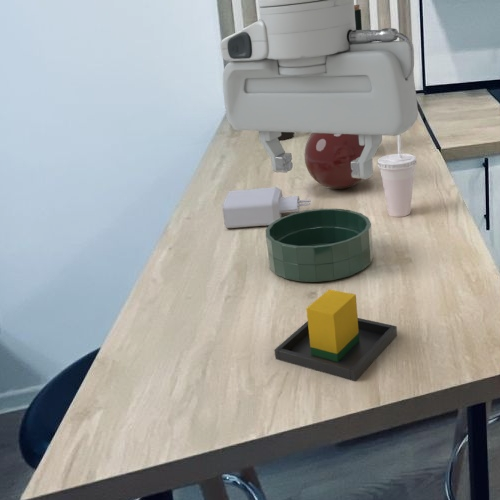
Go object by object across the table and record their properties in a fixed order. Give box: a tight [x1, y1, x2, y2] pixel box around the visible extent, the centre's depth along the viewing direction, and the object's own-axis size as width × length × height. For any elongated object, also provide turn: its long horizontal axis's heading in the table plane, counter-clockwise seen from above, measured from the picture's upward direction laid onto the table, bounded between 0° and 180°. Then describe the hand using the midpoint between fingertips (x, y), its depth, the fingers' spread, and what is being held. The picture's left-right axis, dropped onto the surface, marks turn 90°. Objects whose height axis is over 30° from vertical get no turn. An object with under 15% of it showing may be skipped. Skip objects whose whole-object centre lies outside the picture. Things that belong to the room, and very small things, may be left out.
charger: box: [222, 186, 311, 229], centre depth 118 cm, size 5×9×15 cm
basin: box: [265, 208, 374, 283], centre depth 97 cm, size 15×15×6 cm
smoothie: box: [377, 134, 418, 218], centre depth 110 cm, size 6×6×14 cm
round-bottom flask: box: [303, 133, 365, 190], centre depth 126 cm, size 13×13×20 cm
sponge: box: [305, 289, 359, 362], centre depth 74 cm, size 4×5×6 cm
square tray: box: [273, 317, 398, 382], centre depth 75 cm, size 10×10×2 cm
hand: (321, 174), depth 67 cm, fingers open, 8 cm apart
